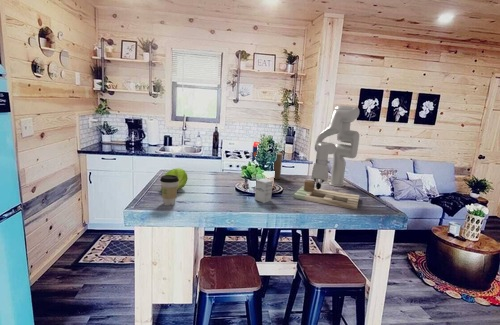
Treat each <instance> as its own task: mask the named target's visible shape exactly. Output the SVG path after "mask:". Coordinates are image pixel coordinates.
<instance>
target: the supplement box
mask: <svg viewBox="0 0 500 325" xmlns="http://www.w3.org/2000/svg"><path fill="white" fill-rule="evenodd" d="M273 183H274V182H273V180H271V179H268V178H263V177H262V179H258V180H256V186H255V191H254V192H255V193H254V200H255V201H258V202H260V203H263V204H265V203H268V202H271V201H272V193H273V192H272V190H273Z"/></svg>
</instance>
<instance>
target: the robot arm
mask: <svg viewBox="0 0 500 325" xmlns="http://www.w3.org/2000/svg"><path fill="white" fill-rule="evenodd" d="M359 115H360V109H359V107H357V106H353V105H352V106H350V105H337V106H335V107H334V111H333V112H332V115H331V117H330V120H329V123H328V125H327V127H326V128H325V129H324V130H322V131H321V132H320V133H319V134H318V136H317V137H316V140H315V143H314V151H315V152H316V155H315V163H314V164H313V166H312V167H313V168H312V172H311V178H310V180H313V181H315V188H317V189H318V190H319V189H322V184H323V183H326V182H327V184H328V185H330V186H332V187H338V188H340V187H341V188H342V187H345V186H346V184H345V183H344V180H345V172H346V165H347V164H346V160H345V158H346V159H347V158H348V159H356V157H357V156H358V150H359V144H360V133H359V132H358V131H357V130H352V129H351V123H353V122H354V121H355V120H356V119H358V118H359ZM334 135H336V140H337V141H338V142H340V143H336V144H335V143H334V142H333V143H332V142H327V141H325V142H324V140H325V139H326V138H328V137H331V136H334ZM344 143H345V144H344ZM329 155H332V156H333V157H332V167H331V174H330V181H328V177H329V164H330V163H331V162H330V161H329Z"/></svg>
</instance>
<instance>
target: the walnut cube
mask: <svg viewBox="0 0 500 325" xmlns="http://www.w3.org/2000/svg"><path fill="white" fill-rule="evenodd" d="M303 186H304V190H306V191H312V192H313V191H314V188H316V182H315V181H314V180H312V179H305V181H304V184H303Z"/></svg>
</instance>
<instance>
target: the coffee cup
mask: <svg viewBox="0 0 500 325" xmlns="http://www.w3.org/2000/svg"><path fill="white" fill-rule="evenodd" d="M159 181H160V183H161V185H160V188H161V196H162V204H163V205H164V206H174V205H175V204H176V198H177V192H178V189H177V187H178V181H179V179H178V177H177V176H175V175H165V174H164V175H162V176H161V177H160V180H159Z"/></svg>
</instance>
